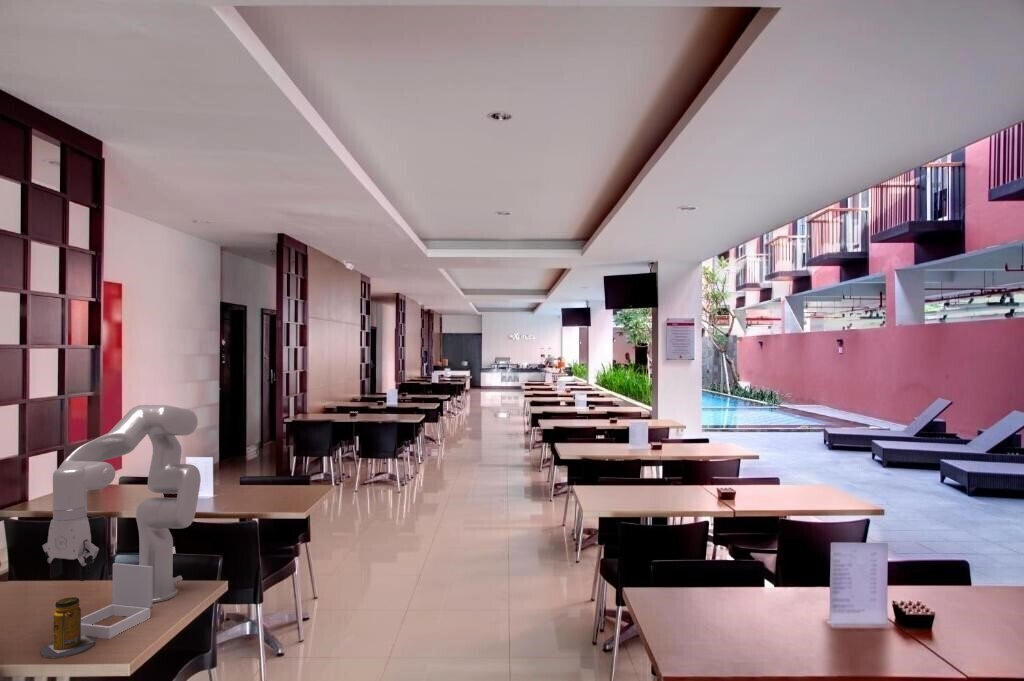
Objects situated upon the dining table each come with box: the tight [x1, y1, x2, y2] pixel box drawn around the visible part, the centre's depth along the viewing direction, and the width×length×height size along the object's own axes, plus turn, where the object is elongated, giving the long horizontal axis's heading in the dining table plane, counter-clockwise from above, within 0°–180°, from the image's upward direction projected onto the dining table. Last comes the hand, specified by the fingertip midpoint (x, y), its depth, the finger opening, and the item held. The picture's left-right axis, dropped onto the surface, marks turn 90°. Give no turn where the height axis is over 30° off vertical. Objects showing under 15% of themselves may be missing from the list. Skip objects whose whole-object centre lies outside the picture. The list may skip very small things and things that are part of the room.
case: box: [81, 562, 153, 640], centre depth 191 cm, size 16×14×15 cm
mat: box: [40, 636, 96, 658], centre depth 176 cm, size 12×12×1 cm
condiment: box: [49, 596, 94, 653], centre depth 176 cm, size 7×8×12 cm
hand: (70, 577), depth 177 cm, fingers open, 9 cm apart
